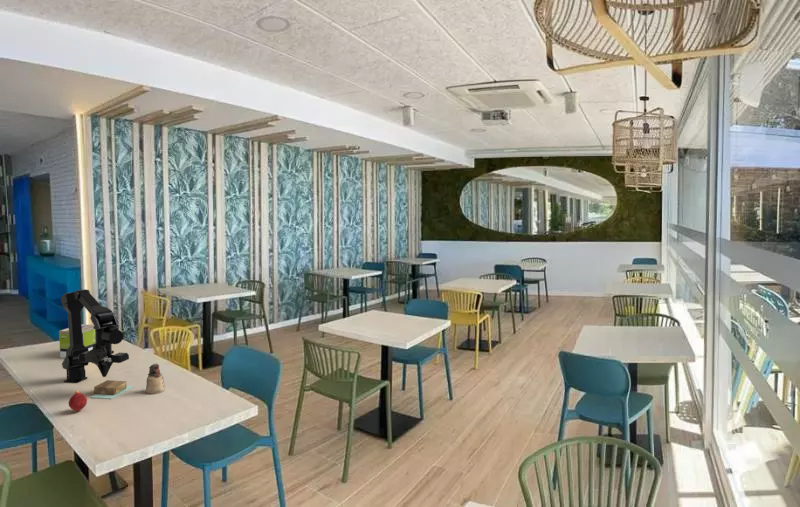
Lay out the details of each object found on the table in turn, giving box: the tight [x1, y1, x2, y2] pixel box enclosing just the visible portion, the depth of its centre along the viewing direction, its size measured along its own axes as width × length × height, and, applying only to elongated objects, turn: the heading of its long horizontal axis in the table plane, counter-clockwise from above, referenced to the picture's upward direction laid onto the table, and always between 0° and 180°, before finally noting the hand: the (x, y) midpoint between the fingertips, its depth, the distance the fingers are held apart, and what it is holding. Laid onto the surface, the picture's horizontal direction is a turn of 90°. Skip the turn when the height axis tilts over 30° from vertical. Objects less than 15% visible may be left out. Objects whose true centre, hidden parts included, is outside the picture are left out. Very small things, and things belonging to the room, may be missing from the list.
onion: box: [68, 390, 88, 412], centre depth 185 cm, size 6×6×8 cm
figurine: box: [145, 363, 166, 395], centre depth 207 cm, size 7×7×12 cm
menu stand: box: [93, 380, 127, 395], centre depth 205 cm, size 3×8×9 cm
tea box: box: [58, 323, 96, 359], centre depth 256 cm, size 15×10×15 cm, turn 172°
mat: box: [90, 385, 134, 400], centre depth 205 cm, size 9×14×1 cm, turn 175°
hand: (104, 376), depth 205 cm, fingers closed
